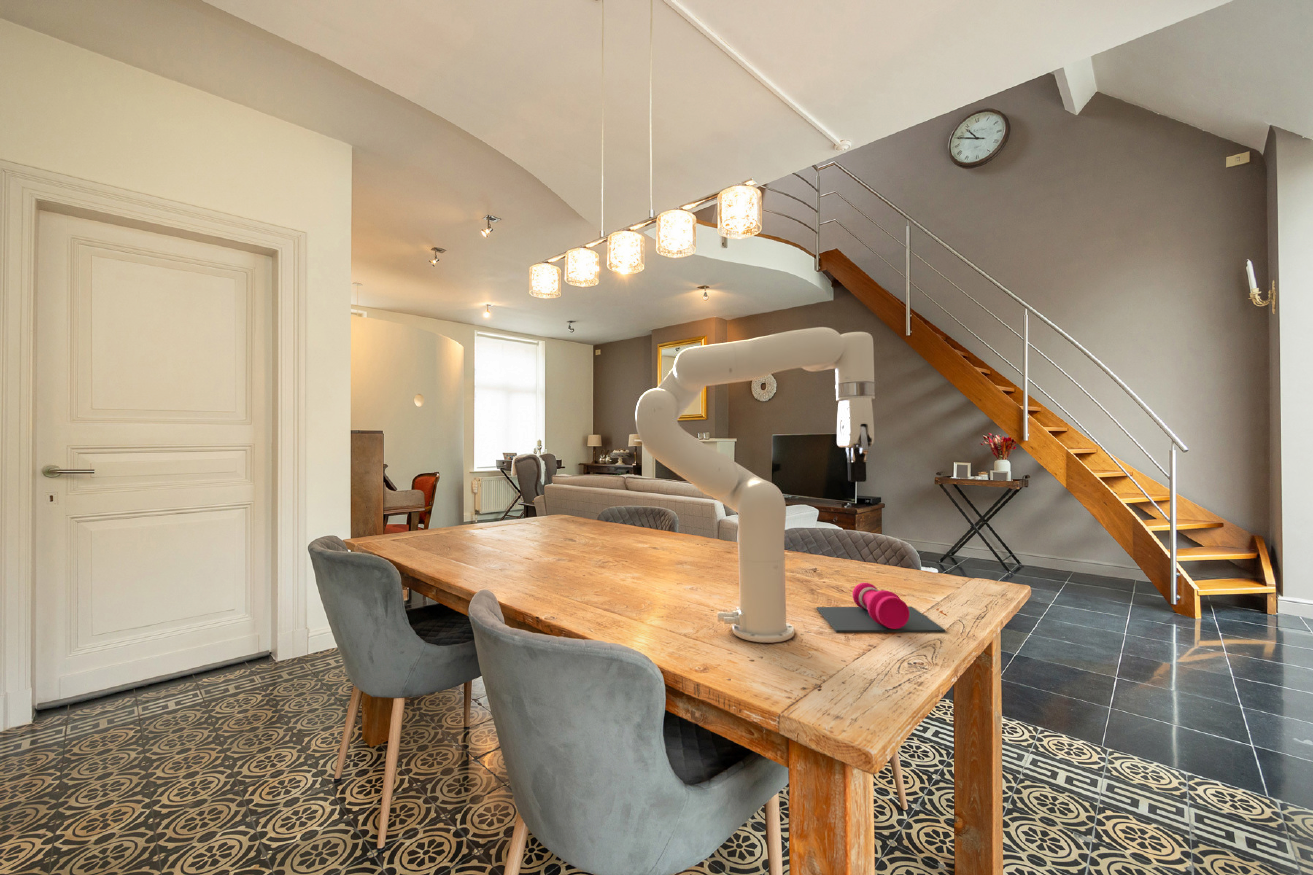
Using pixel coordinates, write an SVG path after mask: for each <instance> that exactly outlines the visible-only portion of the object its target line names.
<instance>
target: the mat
mask: <svg viewBox="0 0 1313 875" xmlns="http://www.w3.org/2000/svg"><path fill="white" fill-rule="evenodd" d="M908 609H909V619H908V621H907V623H906V624H905V625H904V626H903V627H901V628H898V629H891V628H888V627H886V626H883V625H880V624H878V623H876V622H875V621H874V620H873V619H872V618H871V617H870V615H869V613H868V610H866V609H862V608H860V607H859V606H816V610H817V612H818V613H819V614H820V615H821V617H823V619H824V620H825V621H826V622H827V623H828V624H829V626H830V627H831V628H832V629H833V630H834V631H835V633H946V630H945V629H946V628H945V629H944V628H943V627H942V626H941V625H939V624H937V623H936V622H934V621H933V620H932V619H930V618H929V617H927V616H926V615H925V614H923V613H922V612H920V611H919V610H917V609H916V608H914V607H913V606H908Z"/></svg>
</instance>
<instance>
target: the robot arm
mask: <svg viewBox="0 0 1313 875" xmlns="http://www.w3.org/2000/svg"><path fill="white" fill-rule="evenodd" d="M874 352H875V350H874V338H873V336H872V334H870V333H869V332H865V331H851V332H845V333H842V334H841V333H840V332H838V331H837V330H836V329H834V328H830V327H828V326H827V327H826V326H818V327H810V328H809V327H808V328H802V329H794V330H789V331H783V332H778V333H773V334H769V335H765V336H757V337H754V338H749V339H743V340H736V341H735V340H734V341H730V342H723V343H722V342H721V343H714V344H706V345H697V346H692V347H688V348H684V349H683V350H681V351H680V352H679V353H678V354H677V355H676V357H675V359H674V362H673V367H672V368H671V370H669V372H668V374H667V375H666V376H665V377H664V378H663V380H661V382H660V383H659V384H658V386H657V387H656V388H655V387H654V388H651V389H648V390H647V391H646V390H645V392H644V393H643V394H642V395H641V396H640V397H639V400H637V404H636V408H635V426H636V432H637V435H638V437H639V441H641V443H642V446H643V447H644V448H645V450H646V451H647V453H648V454H649V455H651V456H652V458H654V459H655V460H656V461H657V462H659V463H660V464H661V465H663V466H664V467H666V468H667V469H669V470H670V471H672V472H673V473H674V474H676V475H677V476H679V477H681V478H682V479H684V480H685V481H687V482H688V483H690V484H691V485H692V486H694V487H696V488H697V490H699V491H700V492H701V493H703V494H705V495H706V496H709V497H712V498H713V499H715V500H716V501H718V502H720V503H721V504H722V505H724V506H726V507H727V508H729V509H731V510H732V511H733V512H736V513H737V557H738V599H739V606H736V610H731V611H732V612H726V611H717V613H716V614H717V615H716V616H717V617H716V618H717V622H718V623H719V622H720V623H721V622H723V624H724V625H731V626H732V627H731V628H732V633H733V634H734V635H735V636H736V637H738V638H740V639H742V640H744V641H745V640H746V641H749V642H754V643H766V644H767V643H769V644H770V643H772V644H773V643H781V642H784V641H788V640H790V639H792V638H793V637H794V636H795V627H794V625H792V624H791V623H789V622H787V591H786V590H787V589H786V588H787V587H786V553H785V552H786V550H785V548H786V547H785V535H786V534H785V533H786V532H785V531H786V520H787V519H786V518H787V506H786V505H787V504H786V499H785V497H784V494H783V493H782V491H781V489H780V488H779V487H778V486H777V485H775V483H773V482H771V481H769V480H766V479H764V478H761V477H760V476H758V475H756V474H755V473H753V472H752V471H750V470H748V469H747V468H746V467H744V466H742V465H740V464H739V463H737V462H736V461H734V460H733V459H732V458H731V457H730V456H728V455H727V454H725V453H722V452H720V451H717V450H716V449H714V448H712V447H711V446H709V445H708V444H706V443H703V442H702V441H701V440H699V439H698V438H697V437H695V436H694V435H692V434H691V433H689V432H687V431H686V430H685V429H684V428H683V427H682V426H681V425H680V423H679V421H678V420H679V419H680V417H681V416H682V415H683V414H684V413H685V412H686V410H687V409H688V408H689V407H690V406H691V405H692V404H693V402H694V401H695V400H696V399H697V397H698V396H699V395H700V394H701V393H702V391H703V390H704V389H705V388H706V387H710V386H717V385H725V384H726V385H727V384H734V383H742V382H750V381H754V380H759V379H762V378H764V377H767V376H769V375H773V374H775V373H779V372H783V371H788V370H794V369H802V370H805V371H807V372H822V371H827V370H835V400H836V402H838V405H837V415H836V416H837V417H836V445H837V446H838V447H839V448H845V453H846V459H847V480H848V482H851V483H866V482H867V454H868V453H869V448H870V447H872V446H873V445H874V443H875V422H874V411H873V410H874V409H873V401H874V400H875V399H876V394H875V390H876V388H875V353H874ZM872 400H873V401H872Z"/></svg>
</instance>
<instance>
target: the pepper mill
mask: <svg viewBox="0 0 1313 875" xmlns="http://www.w3.org/2000/svg"><path fill="white" fill-rule="evenodd" d="M851 596H852V600H853V602H854V603H855V605H856V607H860V608H862V609H866V610H868V613H869V615H870V617H871V618H872V619H873V620H874V621H875V622H876V623H878V624H880V625H883V626H886V627H888V628H891V629H898V628H901V627H903V626H904V625H905V624H906V623H907V621H908V619H909V609H908V607H909V606H908V604H907V603H906V602H905V601H904V600H903V599H901V598H900V597H899V595H898V594H896V593H895V592H893V591H889V590H885V589H883V590H882V589H881V590H879V589H878V588H877V587H876V586H875V585H873V584H872V583H869V582H860V583H858V584H856V585H855V587H854V588H853V590H852V594H851Z"/></svg>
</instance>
